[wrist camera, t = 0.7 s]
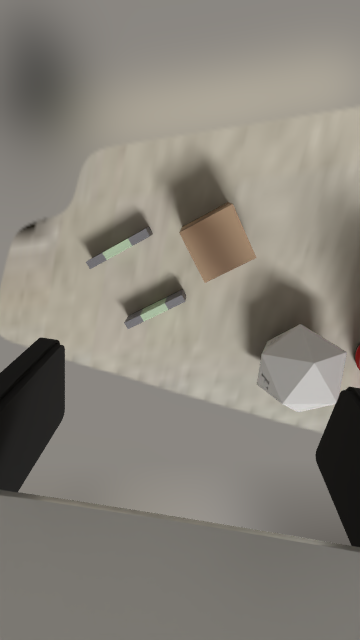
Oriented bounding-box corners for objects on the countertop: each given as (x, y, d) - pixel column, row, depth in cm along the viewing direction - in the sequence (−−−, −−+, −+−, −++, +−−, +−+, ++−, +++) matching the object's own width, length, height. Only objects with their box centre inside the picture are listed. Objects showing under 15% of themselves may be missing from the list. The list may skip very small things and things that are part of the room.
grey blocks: (148, 226, 32) (145, 228, 30) (186, 295, 34) (185, 301, 32) (92, 258, 33) (85, 262, 31) (131, 322, 36) (128, 329, 34)
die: (281, 300, 34) (243, 358, 29) (367, 327, 31) (342, 400, 25) (271, 349, 40) (238, 406, 34) (343, 377, 36) (319, 447, 31)
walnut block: (227, 202, 31) (232, 203, 26) (248, 248, 32) (256, 257, 27) (182, 226, 32) (179, 232, 27) (204, 270, 33) (204, 282, 29)
